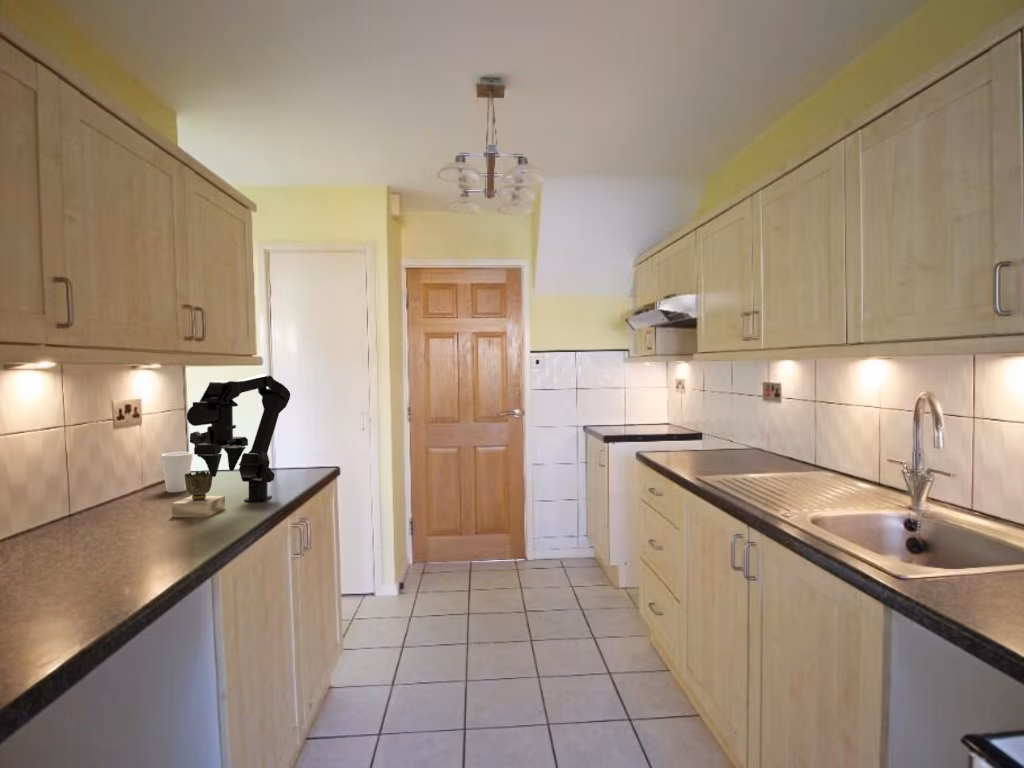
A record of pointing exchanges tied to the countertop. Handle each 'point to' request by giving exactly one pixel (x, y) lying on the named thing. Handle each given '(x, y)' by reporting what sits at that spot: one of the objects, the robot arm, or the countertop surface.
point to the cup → (198, 484)
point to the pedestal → (198, 507)
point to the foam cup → (176, 470)
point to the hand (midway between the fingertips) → (222, 473)
